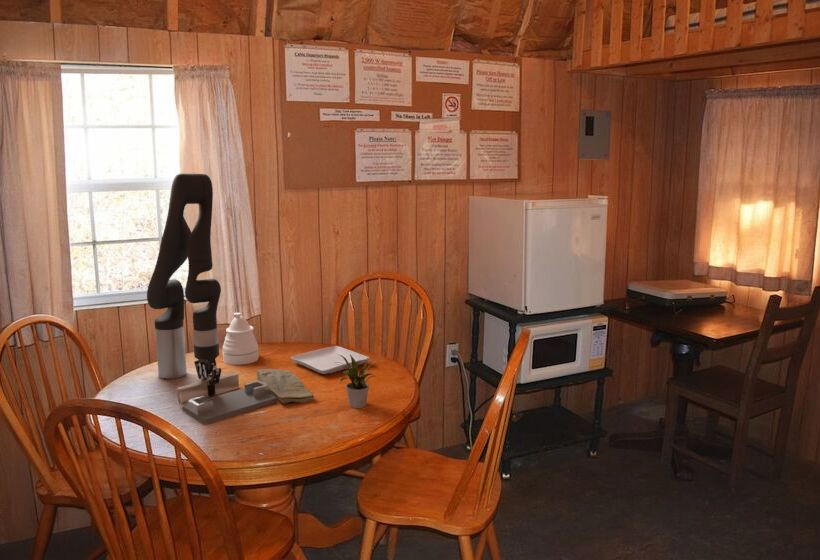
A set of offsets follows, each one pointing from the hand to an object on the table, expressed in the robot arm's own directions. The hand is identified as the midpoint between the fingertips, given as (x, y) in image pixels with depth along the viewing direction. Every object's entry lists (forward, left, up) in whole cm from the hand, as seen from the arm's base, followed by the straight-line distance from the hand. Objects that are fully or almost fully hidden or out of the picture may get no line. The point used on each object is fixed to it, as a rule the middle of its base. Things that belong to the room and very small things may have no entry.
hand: (209, 393), depth 211 cm
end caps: (+13, 0, +1) cm, 13 cm away
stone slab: (+11, +20, -1) cm, 23 cm away
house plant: (+38, +28, 0) cm, 47 cm away
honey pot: (-25, +26, -1) cm, 36 cm away
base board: (+13, 0, 0) cm, 13 cm away
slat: (0, 0, -1) cm, 1 cm away
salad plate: (+3, +46, -1) cm, 46 cm away
